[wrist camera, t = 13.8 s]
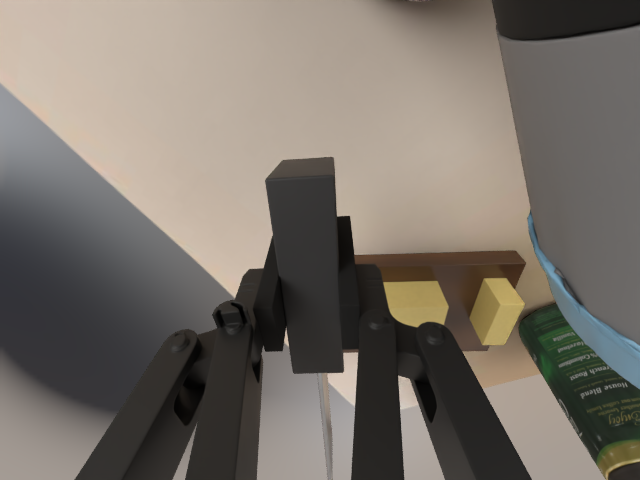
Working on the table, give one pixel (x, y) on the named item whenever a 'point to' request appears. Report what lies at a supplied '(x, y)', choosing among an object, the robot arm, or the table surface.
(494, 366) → the table surface
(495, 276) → the board
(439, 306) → the butter block
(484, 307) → the butter pat
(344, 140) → the table surface
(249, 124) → the table surface
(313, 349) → the knife
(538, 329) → the coffee jar
